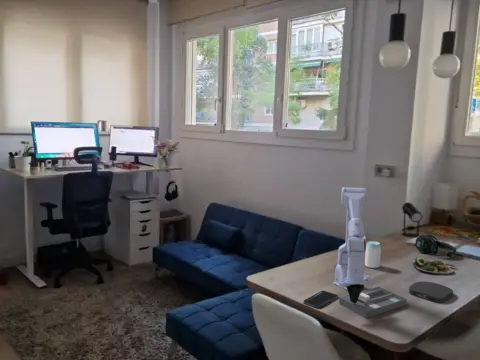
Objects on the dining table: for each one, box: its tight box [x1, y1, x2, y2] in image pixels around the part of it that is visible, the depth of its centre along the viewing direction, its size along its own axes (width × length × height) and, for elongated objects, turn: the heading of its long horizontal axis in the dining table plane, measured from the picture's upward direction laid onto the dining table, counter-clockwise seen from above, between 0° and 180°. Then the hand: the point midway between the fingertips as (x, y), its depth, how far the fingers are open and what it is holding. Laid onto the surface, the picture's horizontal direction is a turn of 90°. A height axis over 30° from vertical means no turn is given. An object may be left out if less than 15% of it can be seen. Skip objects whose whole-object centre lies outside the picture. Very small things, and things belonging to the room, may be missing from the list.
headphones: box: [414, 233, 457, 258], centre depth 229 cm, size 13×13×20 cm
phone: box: [302, 290, 339, 310], centre depth 171 cm, size 8×1×15 cm
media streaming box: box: [408, 281, 454, 304], centre depth 178 cm, size 15×15×3 cm
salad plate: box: [412, 255, 456, 275], centre depth 207 cm, size 19×18×5 cm
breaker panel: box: [338, 286, 407, 319], centre depth 167 cm, size 14×22×4 cm, turn 121°
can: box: [364, 240, 382, 269], centre depth 209 cm, size 7×7×12 cm
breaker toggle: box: [358, 293, 370, 302], centre depth 164 cm, size 4×2×2 cm, turn 31°
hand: (353, 302), depth 162 cm, fingers closed
